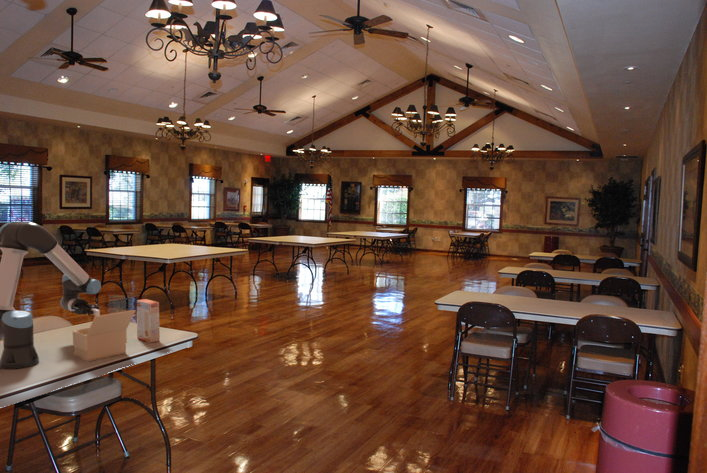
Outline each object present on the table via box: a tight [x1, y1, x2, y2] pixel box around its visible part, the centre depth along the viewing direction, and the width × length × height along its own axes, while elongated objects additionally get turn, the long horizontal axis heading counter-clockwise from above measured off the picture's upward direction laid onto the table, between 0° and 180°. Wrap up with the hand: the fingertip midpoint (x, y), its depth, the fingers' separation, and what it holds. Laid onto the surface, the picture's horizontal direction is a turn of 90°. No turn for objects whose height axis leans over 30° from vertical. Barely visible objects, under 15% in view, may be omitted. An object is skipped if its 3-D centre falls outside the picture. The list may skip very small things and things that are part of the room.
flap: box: [86, 309, 136, 337], centre depth 254 cm, size 14×19×1 cm
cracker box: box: [136, 298, 161, 344], centre depth 289 cm, size 14×6×21 cm, turn 47°
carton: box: [72, 327, 128, 363], centre depth 262 cm, size 15×19×12 cm
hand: (98, 313), depth 264 cm, fingers closed
